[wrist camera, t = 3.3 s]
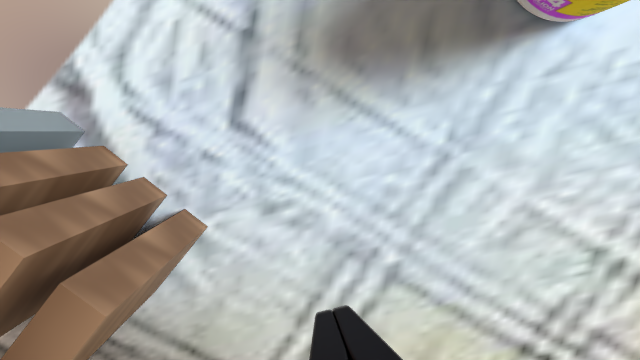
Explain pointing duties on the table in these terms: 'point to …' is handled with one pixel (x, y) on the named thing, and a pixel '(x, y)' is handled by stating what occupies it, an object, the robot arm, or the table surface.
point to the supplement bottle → (567, 8)
